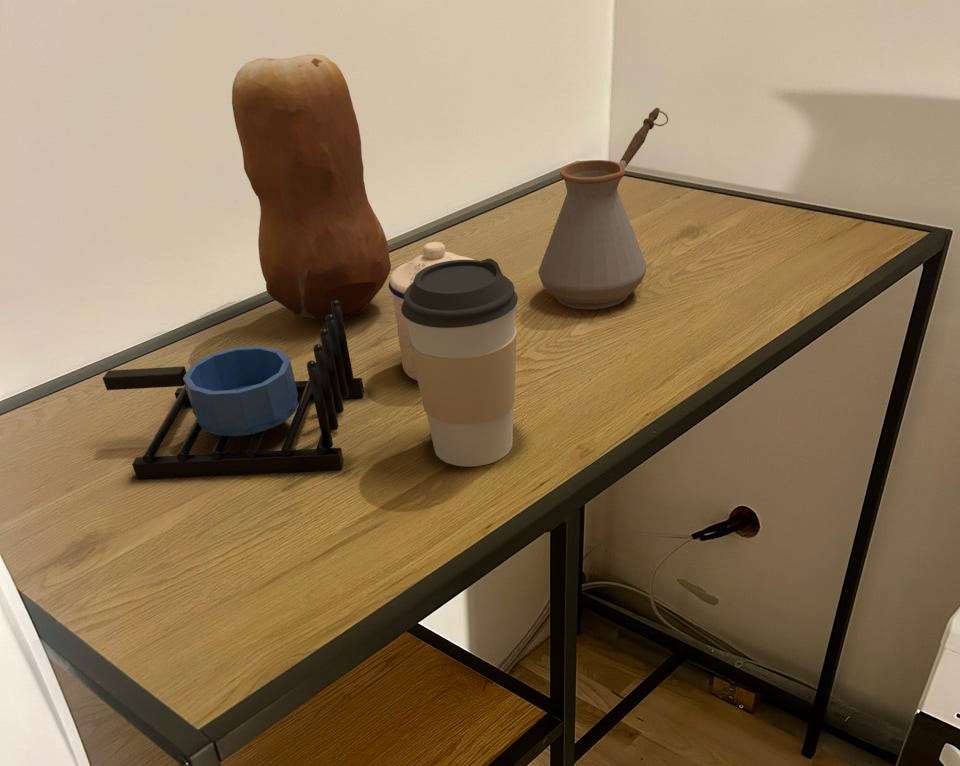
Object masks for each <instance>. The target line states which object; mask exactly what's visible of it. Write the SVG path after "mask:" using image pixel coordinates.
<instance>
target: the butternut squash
mask: <svg viewBox="0 0 960 766" xmlns="http://www.w3.org/2000/svg"><path fill="white" fill-rule="evenodd" d="M231 106H232V113H233V119H234V123H235V129H236V132H237V135H238V139H239V143H240V147H241V151H242V161H243V170H244V173H245V175H246V176H247V179H248V181H249V184H250V186H251V189H252V190H253V192H254V194H255V195H256V197H257V199H258V202H259V207H260V216H259V225H258V239H257V242H258V244H257V245H258V259H259V264H260V269H261V273H262V276H263V279H264V281H265V289H266V292H267V294H268V295H269V296H270V297H271V298H272V299H274V300H275V301H276V302H278V304H281V306H282V307H285V308H286V309H287V310H288V311H290V312H291V313H293V314H294V315H296V316H300V317H305V318H311V319H315V320H316V319H325V318H326V315H328V314H332V315H333V312H332V307H331V302H332V301H333V300H338V301H339V302H340V306H341V312H342V317H343V320H346V319H348V318H350V317H352V316H354V315H356V314H359V313H361V312H362V311H363V310H364V308H366V306H367V305H369V304H370V302H371V301H372V300H373V299H374V298H375V297H376V296H377V294H378V293H379V292H380V290H381V289H382V288H383V287H384V285H385V283H386V282H387V279H388V277H389V275H390V272H391V268H392V264H391V259H390V258H391V257H390V252H389V251H390V250H389V244H388V239H387V237H386V234H385V231H384V229H383V225H382V224H381V222H380V220H379V219H378V216H377V215H376V213H375V212H374V210H373V207H372V206H371V203H370V202H369V199H368V196H367V195H368V194H367V191H366V185H365V180H364V179H365V177H364V172H365V171H364V161H363V152H362V139H361V133H360V126H359V123H358V118H357V114H356V112H355V109H354V105H353V101H352V98H351V93H350V89H349V86H348V83H347V81H346V78H345V76H344V73H342V71H341V69H340V67H339V66H338V64H336V63H335V62H334V61H332V60H331V59H329V58H328V57H326V55H323V54H316V53H315V54H314V53H313V54H303V55H302V54H301V55H295V56H291V57H283V58H282V57H281V58H271V57H259V58H256V59H252V60H250V61H248V62H246V63H244V65H242V66H241V67H240V69H239V70H238V71H237V72H236V74H235V77H234V79H233V82H232V87H231Z"/></svg>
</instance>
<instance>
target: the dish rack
mask: <svg viewBox="0 0 960 766" xmlns="http://www.w3.org/2000/svg"><path fill="white" fill-rule="evenodd" d="M331 307H332V312H333V315H332V314H328V315H326V318H324V319H325V324H326V328H321V329H320V330H319V338H320V343H321V344H320V343H315V344H314V345H313V348H312V350H313V355H314V358H315V360H309V361H307V363H306V371H307V374H308V379H307V380H295V383H296V388H297V392H298V397H297V400H298V406H297V409H296V411H295V412H294V414H293V415H294V416H293V418H292V421H291V423H290V426H289V428H288V431H287V434H286V435H285V439H284V441H283V444H282V446H281V449H280V450H259V448H260V446H261V443H262V441H263V438H264V436H265V434H266V431H267V430H265V431H262V432H258V433H254V434H252V437H251V440H250V441H249V444H248V447H247V449H246V451H240V452H224V451H225V449H226V447H227V445H228V443H229V441H230V438H231V437H232V436H222V435H219V437H218V438H217V441H216V443H215V445H214V446H213V450H212V451H211V453H200V454H199V453H198V454H190V453H191V451H192V449H193V447H194V446H195V443H196V441H197V439H199V438H198V437H199V436H200V434H201V432H202V430H203V429H202V428H201V427H200V426H199V424H198V422H197V419H196V418H195V421H194V423H193V424H192V426H191V428H190V429H189V432H188V434H187V435H186V437H185V439H184V440H183V443H182V445H181V446H180V449H179V450H178V452H177V454H176V455H158V456H157V455H156V454H158V451H159V449H160V448H161V446H162V444H163V442H164V441H165V439H166V437H167V435H168V434H169V432H170V430H171V429H172V427H173V425H174V423H175V422H176V420H177V419H178V417H179V415H180V413H181V412H182V409H183V408H190V407H191V403H190V400H189V397H188V394H187V390H186V387H185V385H184V386H181V387H177V388H176V389H175V392H174V396H175V401H174V403H173V405H172V407H171V408H170V410H169V411H168V413H167V414H166V416H165V418H164V420H163V421H162V423H161V425H160V426H159V429H158V430H157V432H156V433H155V434H154V437H153V438H152V440H151V441H150V443H149V445H148V447H147V449H146V450H145V452H144V453H143V455H142V456H136V457H135V458H134V460H133V462H132V463H131V465H132V468H133V471H134V474H135V476H136V477H135V478H136V479H138V480H142V479H144V480H145V479H164V478H185V477H206V476H208V477H209V476H227V475H228V476H229V475H231V476H232V475H249V474H250V475H251V474H272V473H274V474H275V473H294V472H295V473H297V472H315V471H316V472H317V471H338V470H340V471H341V470H342V469H343V467H344V463H345V460H344V456H343V451H342V450H343V449H342V447H333V445H334V442H333V436H332V432H333V431H337V430H339V421H338V417H337V416H338V414H342V413H344V410H345V408H344V402H343V400H344V399H361V398H362V399H363V397H364V394H365V388H364V382H363V381H364V380H363V378H362V377H354V373H353V367H352V363H351V356H350V351H349V346H348V339H347V334H346V329H345V328H346V327H345V323H344V319H343V317H342V312H341V306H340V302H339V301H338V300H333V301H332V302H331ZM311 401H313V402H314V407H315V412H316V416H317V421H318V425H319V426H318V427H319V431H320V436H319V439H318V442H317V445H316V448H303V449H302V448H301V449H300V448H299V449H293V448H294V444H295V442H296V439H297V436H298V434H299V431H300V429H301V426H302V423H303V421H304V419H305V415H306V413H307V410H308V407H309V404H310V402H311ZM191 408H192V407H191Z"/></svg>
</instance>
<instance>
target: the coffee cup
mask: <svg viewBox="0 0 960 766" xmlns="http://www.w3.org/2000/svg"><path fill="white" fill-rule="evenodd" d="M517 302H518V303H519V297H518V294H517V293H516V291H515V285H514V283H513V281H512V280H510V278H508V277H507V276H506V275H505V274H503V272H502V270H501V267H500V265H499V263H498V262H497V261H496V260H494V259H493V258H485V259H482V260H476V259H474V260H452V261H446V262H441V263H437V264H434V265H431V266H428V267H426V268H424V269H422V270H421V271H420V272H418V273H417V274H416V276H415V278H414V281H413V283H412V284H411V285H410V286H409V287H408V288H407V289H406V291H405V293H404V302H403V304H402V307H401V311H402V314H403V315H404V316H405V317H406V321H407V325H408V330H409V335H410V336H409V345H410V350H411V354H412V358H413V363H414V367H415V371H416V376H417V380H418V381H417V380H416V381H417V385H418V388H419V393H420V398H421V401H422V406H423V410H424V412H425V413H426V418H427V422H428V426H429V431H430V435H431V440H432V444H433V449H434V454H435V455H436V456H437V457H438V458H439V459H440V460H441V461H442V462H444V463H446V464H450V465H452V466H458V467H467V468H469V467H471V468H472V467H482V466H486V465H490V464H493V463H496V462H497V461H499V460H502V459H503V458H504V457H506V456H507V455H508V454H509V453H510V452H511V450H512V449H513V448H512V447H513V439H514V438H513V437H514V435H513V434H514V432H513V431H514V403H515V399H516V396H515V395H516V372H517V371H516V369H517V367H516V365H517V339H518V338H517V336H518V333H517V332H518V329H517V327H516V318H515V306H516V304H517Z"/></svg>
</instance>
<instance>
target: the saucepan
mask: <svg viewBox="0 0 960 766" xmlns="http://www.w3.org/2000/svg"><path fill="white" fill-rule="evenodd" d="M102 380H103V383H104V386H105V388H106V391H119V390H138V389H139V390H140V389H158V388H159V389H160V388H176V387H177V388H179V387H184V386H185V387H186V390H187V394H188V397H189V400H190V403H191V410H192V413H193V415H194V417H195V420H196V419H197V422H198V424H199V426H200V427H201V428H202V430H203V431H205V432H207V433H210V434H212V435H216V436H220V435H222V436H231V437H240V436H247V435H248V436H249V435H254V433H258V432H262V431H265V430H266V431H268V430H270V429H273V428H275V427H278V426H279V425H281V424H282V423H285V422H286V421H287V420H289V419H290V418H291V417H292V416H293V415H295V413H296V410H297V408H298V405H299V401H298V400H297V397H298V392H297V388H296V383H295V381H296V379H295V375H294V371H293V367H292V362H291V359H290V358H289V357H288V355H286V354H285V352H284V351H283V350H280V349H277V348H272V347H269V346H264V345H253V346H252V345H251V346H238V347H237V346H235V347H232V348H228V349H224V350H222V351H218V352H214V353H211V354H208V355H207V356H205V357H203V358H202V359H199V360H198V361H196V362H194V363H193V364H191V365H190V366H189V367H188V369H187V370H186V366H183V365H181V366H166V367H165V366H164V367H148V368H129V369H127V368H126V369H111V370H107V371H106V373H105V374H104V375H103V377H102Z"/></svg>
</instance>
